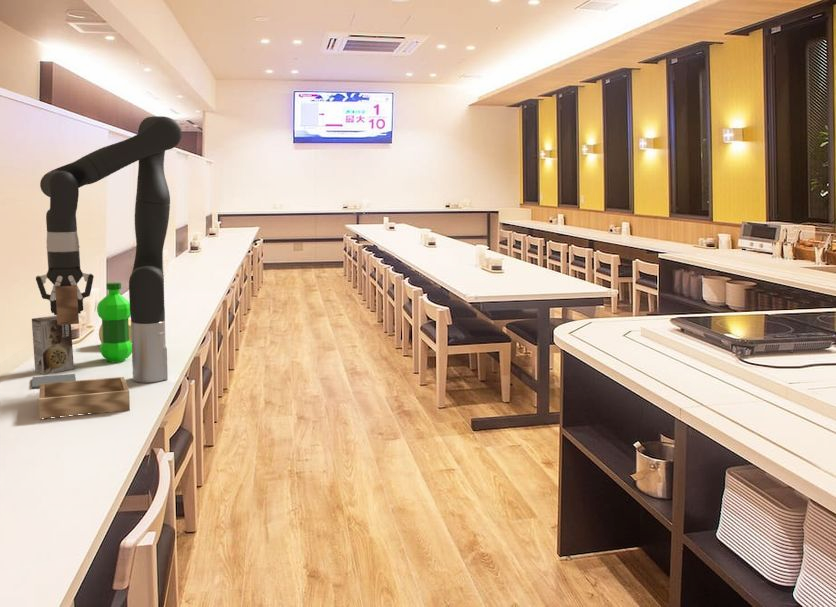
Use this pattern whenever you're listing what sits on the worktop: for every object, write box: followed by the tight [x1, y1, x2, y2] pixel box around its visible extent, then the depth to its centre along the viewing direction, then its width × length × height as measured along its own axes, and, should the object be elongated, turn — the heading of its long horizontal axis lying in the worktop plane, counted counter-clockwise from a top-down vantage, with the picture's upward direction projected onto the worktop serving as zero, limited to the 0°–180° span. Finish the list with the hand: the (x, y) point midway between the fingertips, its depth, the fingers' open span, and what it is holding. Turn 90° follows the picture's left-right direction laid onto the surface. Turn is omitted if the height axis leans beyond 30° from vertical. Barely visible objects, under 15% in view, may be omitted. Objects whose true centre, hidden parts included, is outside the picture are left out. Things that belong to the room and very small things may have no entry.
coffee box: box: [31, 315, 75, 375], centre depth 216 cm, size 9×6×16 cm
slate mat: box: [31, 373, 77, 390], centre depth 204 cm, size 11×11×1 cm
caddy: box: [38, 376, 131, 420], centre depth 182 cm, size 20×15×5 cm
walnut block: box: [55, 284, 80, 325], centre depth 188 cm, size 5×5×10 cm
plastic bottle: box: [96, 282, 132, 363], centre depth 229 cm, size 10×10×25 cm
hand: (67, 313), depth 189 cm, fingers closed on walnut block, 5 cm apart
